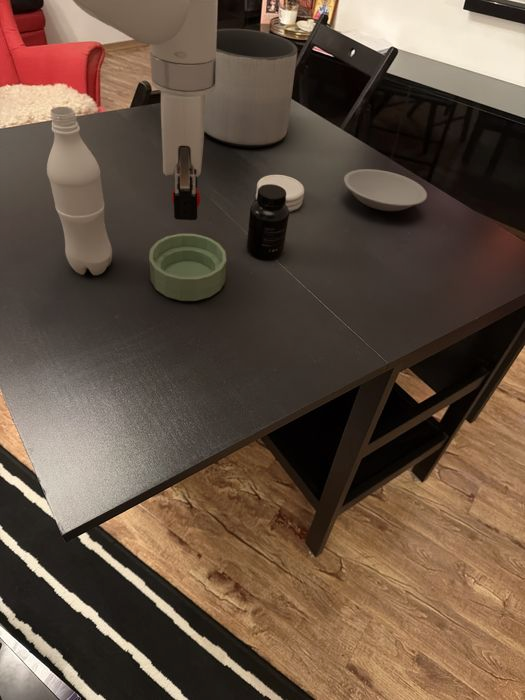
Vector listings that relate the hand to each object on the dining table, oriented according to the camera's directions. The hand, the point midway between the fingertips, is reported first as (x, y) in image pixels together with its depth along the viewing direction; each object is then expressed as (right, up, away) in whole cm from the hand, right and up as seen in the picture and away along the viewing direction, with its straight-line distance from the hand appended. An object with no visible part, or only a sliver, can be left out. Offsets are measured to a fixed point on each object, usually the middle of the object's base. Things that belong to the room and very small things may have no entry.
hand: (186, 208), depth 69 cm
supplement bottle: (+11, -2, +19) cm, 23 cm away
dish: (+36, +10, +35) cm, 51 cm away
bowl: (-1, -9, +11) cm, 14 cm away
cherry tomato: (0, 0, 0) cm, 0 cm away
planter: (+6, +36, +54) cm, 65 cm away
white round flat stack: (+15, +11, +32) cm, 37 cm away
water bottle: (-18, -7, +11) cm, 22 cm away
